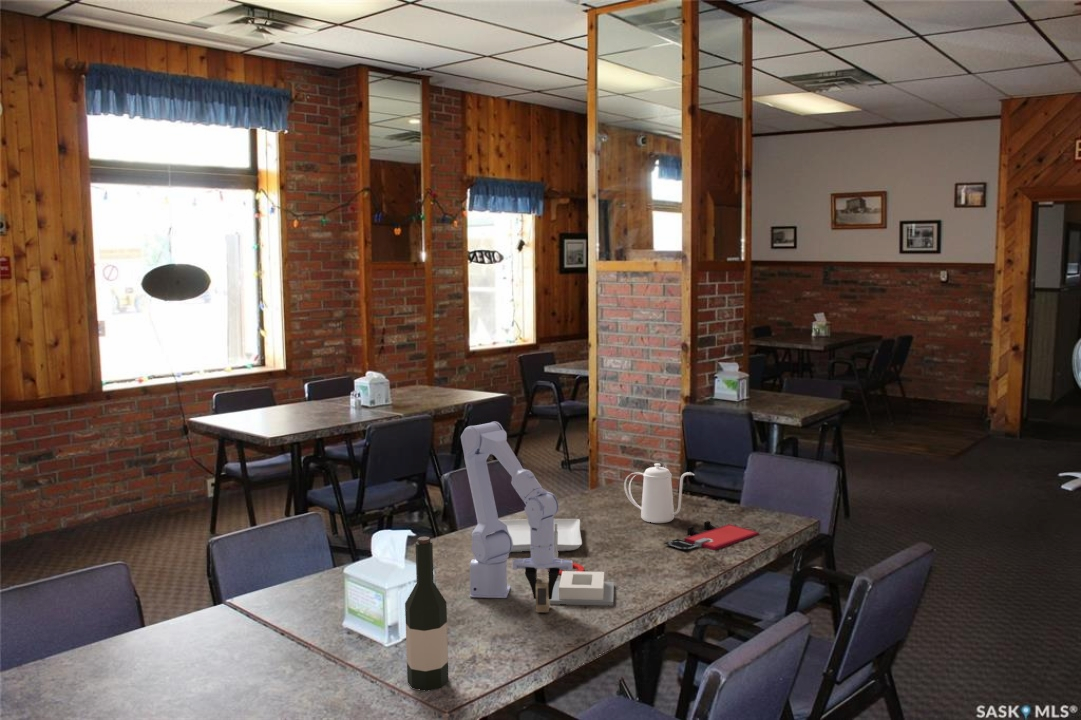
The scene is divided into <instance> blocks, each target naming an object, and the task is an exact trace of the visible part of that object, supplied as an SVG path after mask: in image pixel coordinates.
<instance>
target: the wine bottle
mask: <svg viewBox="0 0 1081 720" xmlns="http://www.w3.org/2000/svg"><path fill="white" fill-rule="evenodd" d="M414 544H415V571H416V575H415V577H416V582H415V583H416V584H415V585H414V587H413V589H412V590H411V592H410V594H409V595H408V597H407V599H406V601H405V603H404V610H405V611H404V612H405V614H404V615H405V641H406V642H405V644H406V646H405V648H406V671H407V673H406V674H407V684H408V683H409V684H410V685H409V684H408V685H409V687H410V686H411V687H412V688H415V689H420V690H419V691H421V690H425V691H424V692H429V691H428V690H430V691H435V690H438V689H442V688H443V687H444V686H445V685H446V684H448V683H449V649H448V648H449V645H448V644H449V643H448V642H449V641H448V613H447V611H448V608H447V607H448V606H447V605H448V604H447V601H446V599H445V598H444V596H443V594H442V593H441V592H440V590H439V588H438V587H437V585H436V584H435V582H434V580H435V579H434V553H433V552H434V550H433V541H431V538H430V537H429V536H420V537H417V541H416V542H415V543H414ZM411 687H410V688H411ZM412 688H411V689H412ZM415 689H414V690H415Z"/></svg>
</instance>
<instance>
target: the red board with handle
mask: <svg viewBox="0 0 1081 720" xmlns="http://www.w3.org/2000/svg"><path fill="white" fill-rule="evenodd" d="M703 525H704V527H703V529H704V532H698V531H696V530H695V528H694V526H693V525H690V526H687V528H686V530H687V532H686V534H687V535H686V536H687V537H684V540H682V539H679V538H676V539H673V540H669V541H666V542H663V544H664V545H668V546H671V547H675V548H677V549H681V550H683V551H689V550H691V549H693V548H704V549H705V548H706V549H709V550H712V551H716V550H719V549H723V548H726V547H727V546H730V545H733V544H735V543H739V542H741V541H744V540H746V539H749V538H752V537H755V536H758V535H759V534H760V532H759V531H756V530H751V529H749V528H745V527H744V528H743V527H741V526H736V525H733V524H729V523H728V524H726V525H722V526H720V527H716V526H714V525H713V524H711V521H710V520H707V521H704V524H703ZM689 535H690V536H689Z"/></svg>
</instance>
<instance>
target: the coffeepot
mask: <svg viewBox="0 0 1081 720" xmlns="http://www.w3.org/2000/svg"><path fill="white" fill-rule="evenodd" d="M653 465H654V466H650V467H648V468H646V469H645V471H644V472H640V471H638V472H632V473H630V474H628V475H627V476H626V477H625V480H624V481H623V482H624V483H623V489H624V492H625V495H626V497H627V499H628V501H629V502H630V503H631V504H632V505H633V506H634V507H636V508H637V509H639V510H641V511H640V517H641V519H642V520H643V521H644V522H647V523H650V522H651V523H652V524H665V523H670V522H672V521H673V520H674V518H675V515H677V514H679V513H680V510H681V508H682V507H681V506H682V497H683V495H682V493H683V485H684V484H683V483H684V482H683V481H684V477H686V476H695V473H693V472H691V471H689V472H688V471H687V472H684V473H683V474H681V476H680V479H679V488H678V489H679V490H678V504H677V509H676V510H675V509H674V497H673V496H674V495H673V483H672V481H673V480H672V477H673V474H672V473H671V471H670V469H668V468H667V467H663V466H661V463H657V462H656V463H654V464H653ZM631 475H633V476H632V477H631V478H630V480H629V482H628V483H629V484H628V490H627V480H628V479H629V477H630V476H631ZM638 475H640V476H643V481H642V482H643V483H642V496H641V497H642V498H641V505H639V504H638V503H637V501H636V500H635V499H634V498H633V495H632V491H631V490H632V489H631V486H632V481H633V479H634V478H635V477H636V476H638ZM674 510H675V511H674ZM651 523H650V524H651Z"/></svg>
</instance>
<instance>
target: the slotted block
mask: <svg viewBox="0 0 1081 720" xmlns="http://www.w3.org/2000/svg"><path fill="white" fill-rule="evenodd" d="M614 585H615V582H614V581H605V571H584V572H582V571H577V570H574V571H573V570H572V571H568V570H567V571H566V570H562V575H560V580H556V582H555V585H554V588H553V592H552V599H550V605H560V604H566V605H565V606H567V605H568V606H569V605H570V606H571V605H573V606H608V605H609V606H611V607H612V606H614V596H615V595H614V592H615V590H614V589H615V586H614ZM609 606H608V607H609Z"/></svg>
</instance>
